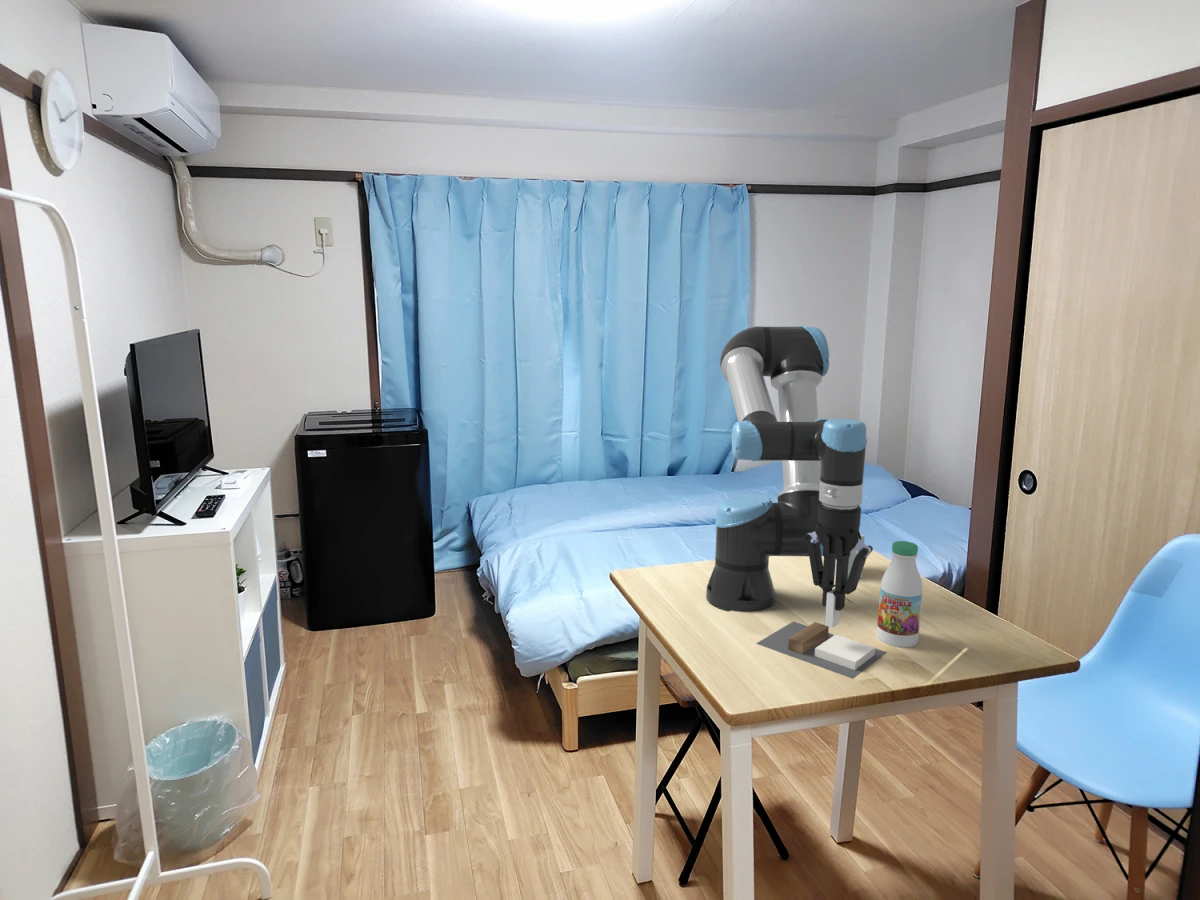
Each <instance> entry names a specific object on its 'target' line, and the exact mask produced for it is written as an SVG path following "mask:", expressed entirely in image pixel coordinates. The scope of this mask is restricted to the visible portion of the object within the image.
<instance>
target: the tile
mask: <svg viewBox="0 0 1200 900" xmlns="http://www.w3.org/2000/svg"><path fill="white" fill-rule="evenodd" d="M833 635H834V636H833V637H831V638H830V639H828V640H827V641H825V642H824V643H822V644H821V645H819V646H818V647H816V648H815V656H816V657H819V658H822V659H825V660H827V661H830V662H833V663H836V664H839V665H841V666H844V667H847V668H850V669H853V670H856V669H857V668H858V667H860V666H861V665H862V664H864V663H865V662H866V661H868V660H869V659H870V658H872V657H873V656H874V654H875V646H872V645H868V644H866V643H862V642H860V641H856V640H853V639H851V638H848V637H844V636H841V635H837V634H833Z"/></svg>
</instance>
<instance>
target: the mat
mask: <svg viewBox="0 0 1200 900" xmlns="http://www.w3.org/2000/svg"><path fill="white" fill-rule="evenodd" d="M807 626H808V625H804V624H802V623H800V622H796V621H791V622H790V623H787V625H784V626H783V627H782V628H779V629H778V630H776V631H774V632H773V633H771V634H769V635H768V636H767V637H765V638H762V639H761V640H759V641H758V642H756V643H755V644H756V645H759V646H761V647H764V648H767V649H770V650H771V651H775V652H778V653H781V654H784V655H787V656H790V657H792V658H794V659H797V660H800V661H803V662H806V663H807V664H808V663H809V664H811V665H814V666H817V667H820V668H823V669H825V670H828V671H830V672H832V673H835V674H839V675H841V676H844V677H847V678H850V679H855V678H856V677H857V676H858V675H860V674H861V673H862V672H863V671H864V670H866V669H867V668H869V667H870V666H871V665H872V664H874V663H875V662H877V661H878V660H879V659H881V657H883V656H884V655H886V654H887V653H888V652H887V651H884V650H882V649H879V648H875V654H874V656H873V657H872V658H870V659H869V660H868V661H866V662H865V663H864V664H862V665H861V666H860V667H858V668H857V669H856V670H853V669H850V668H847V667H844V666H841V665H839V664H836V663H833V662H830V661H827V660H825V659H822V658H819V657H816V656H815V648H816V647H818V646H819V645H821V644H822V643H824V642H825V641H827V640H828V639H830V638H831V637H833V636H834V635H835V634H833V633H830V632H828V638H827V639H825V640H824V641H822V642H821V643H819V644H818V645H816V646H815V647H813V648H812V649H810V650H809V651H807V652H806V653H804V654H803V655H802V654H799V653H796V652H794V651H791V650H788V646H789V638H790V637H791V636H793V635H795V634H796V633H798V632H799V631H801V630H803V629H804V628H806V627H807Z"/></svg>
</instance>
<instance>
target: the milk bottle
mask: <svg viewBox="0 0 1200 900" xmlns="http://www.w3.org/2000/svg"><path fill="white" fill-rule="evenodd" d="M918 548H919V546H918V545H917V544H916V543H914V542H911V541H906V540H905V541H904V540H897V541H894V542H892V545H891V550H892V551H891V555H892V557H891V561H890V563H889V565H888V567H887V568H886V570H885V572H884V574H883V575H882V579H881V583H880V590H879V600H878V611H877V613H878V615H877V627H876V636H877V639H878V640H879V641H880V642H881V643H883V644H885V645H888V646H891V647H894V648H913V647H915V646H916V645H918V643H919V637H920V628H921V616H922V605H923V581H922V577H921V575H920V572H919V569H918V566H917V560H916V558H917V557H918V552H919V549H918Z"/></svg>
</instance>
